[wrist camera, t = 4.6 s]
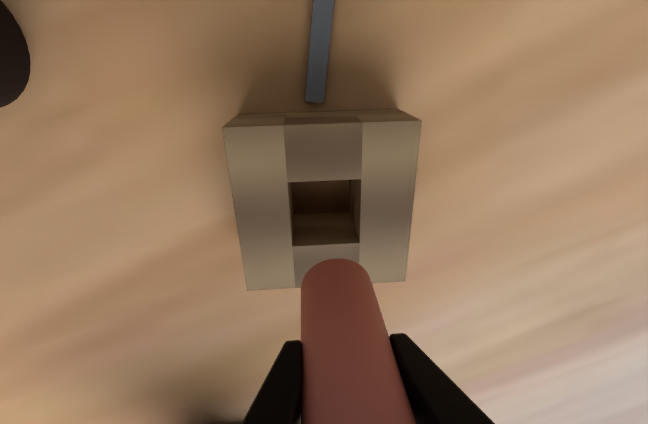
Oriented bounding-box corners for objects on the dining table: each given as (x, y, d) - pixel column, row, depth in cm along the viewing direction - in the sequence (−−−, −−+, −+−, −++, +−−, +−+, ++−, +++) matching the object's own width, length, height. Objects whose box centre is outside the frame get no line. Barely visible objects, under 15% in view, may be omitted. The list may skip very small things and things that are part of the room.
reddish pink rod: (369, 313, 12) (531, 905, 3) (302, 317, 12) (306, 939, 3) (372, 256, 11) (608, 905, 2) (298, 260, 10) (290, 954, 2)
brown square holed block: (388, 245, 22) (405, 281, 19) (256, 252, 22) (247, 290, 18) (397, 108, 18) (421, 120, 15) (237, 114, 18) (222, 127, 14)
